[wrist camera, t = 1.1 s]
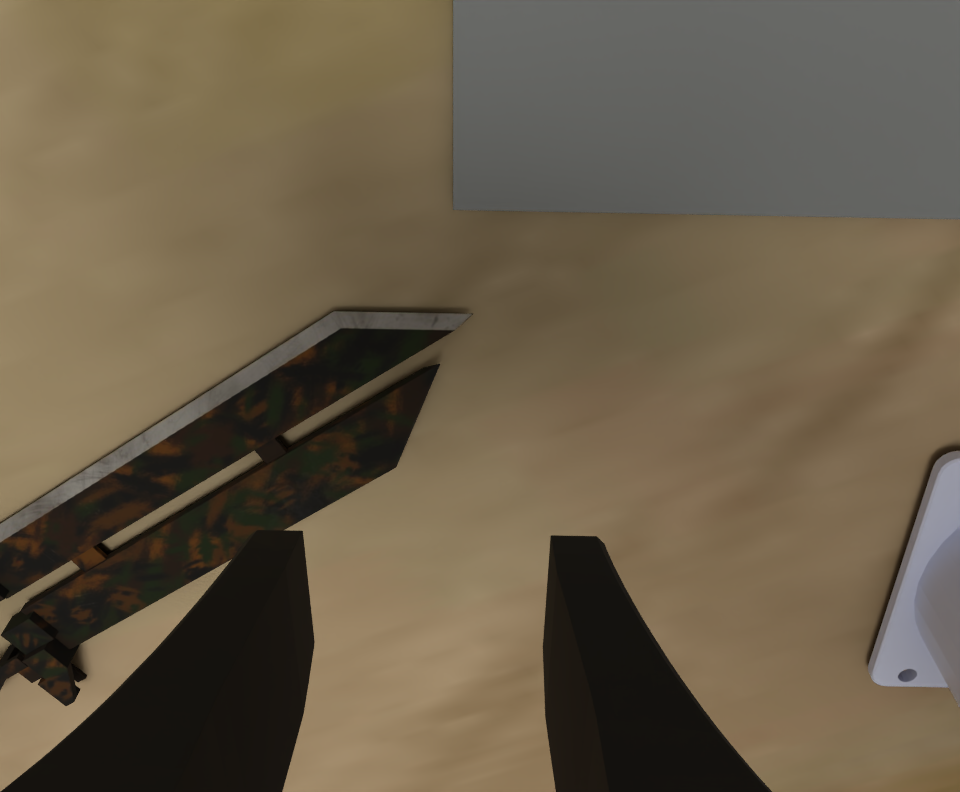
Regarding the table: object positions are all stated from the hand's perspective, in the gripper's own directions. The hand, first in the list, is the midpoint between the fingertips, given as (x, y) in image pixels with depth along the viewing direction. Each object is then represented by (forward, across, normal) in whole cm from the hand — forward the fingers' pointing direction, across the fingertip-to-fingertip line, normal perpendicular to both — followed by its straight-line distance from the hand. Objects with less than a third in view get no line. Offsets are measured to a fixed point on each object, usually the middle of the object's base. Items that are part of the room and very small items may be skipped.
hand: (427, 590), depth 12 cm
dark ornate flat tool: (+10, +10, +8) cm, 17 cm away
